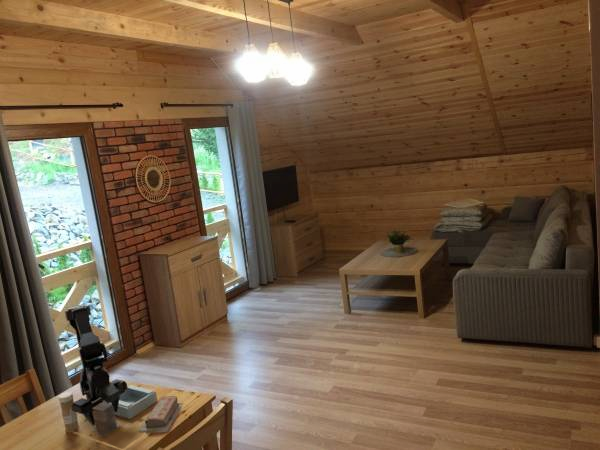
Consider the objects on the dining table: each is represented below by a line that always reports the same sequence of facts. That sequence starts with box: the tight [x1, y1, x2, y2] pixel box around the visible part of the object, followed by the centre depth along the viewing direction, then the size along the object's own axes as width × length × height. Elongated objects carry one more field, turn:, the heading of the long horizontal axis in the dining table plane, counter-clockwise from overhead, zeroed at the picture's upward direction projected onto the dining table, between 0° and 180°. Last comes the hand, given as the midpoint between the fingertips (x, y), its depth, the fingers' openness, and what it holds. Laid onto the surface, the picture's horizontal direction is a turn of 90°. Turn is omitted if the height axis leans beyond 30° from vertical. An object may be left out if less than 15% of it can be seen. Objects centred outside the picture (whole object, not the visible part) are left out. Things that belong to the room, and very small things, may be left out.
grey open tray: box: [102, 384, 158, 420], centre depth 196 cm, size 14×13×5 cm
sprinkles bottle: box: [58, 391, 80, 434], centre depth 184 cm, size 5×5×13 cm
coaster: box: [91, 422, 122, 436], centre depth 182 cm, size 7×7×1 cm
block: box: [92, 403, 118, 434], centre depth 182 cm, size 4×6×8 cm, turn 58°
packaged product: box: [138, 395, 184, 434], centre depth 185 cm, size 18×5×10 cm
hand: (104, 418), depth 182 cm, fingers open, 9 cm apart
